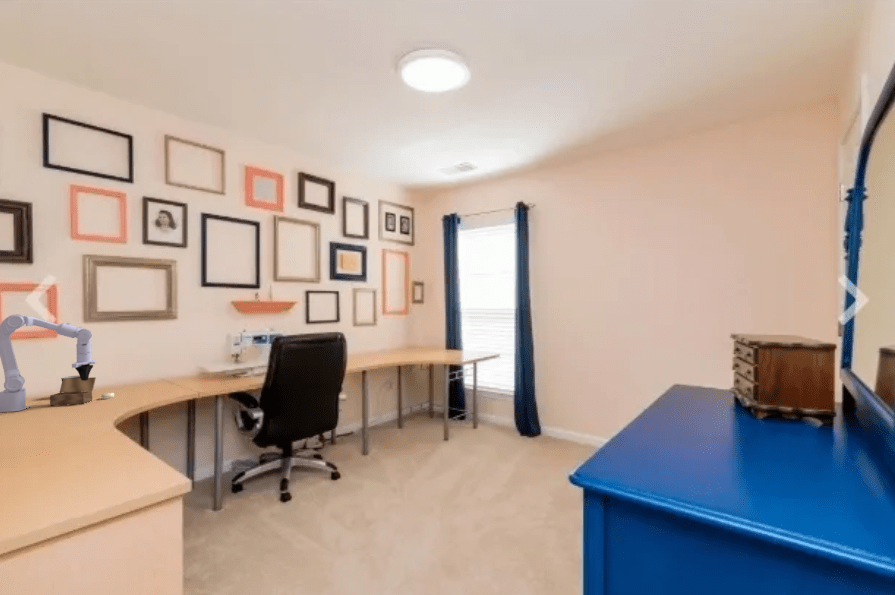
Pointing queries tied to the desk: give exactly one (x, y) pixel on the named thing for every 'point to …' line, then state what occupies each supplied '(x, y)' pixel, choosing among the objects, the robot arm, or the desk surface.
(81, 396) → the walnut box
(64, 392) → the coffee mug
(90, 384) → the lid
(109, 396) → the cream domed disc
